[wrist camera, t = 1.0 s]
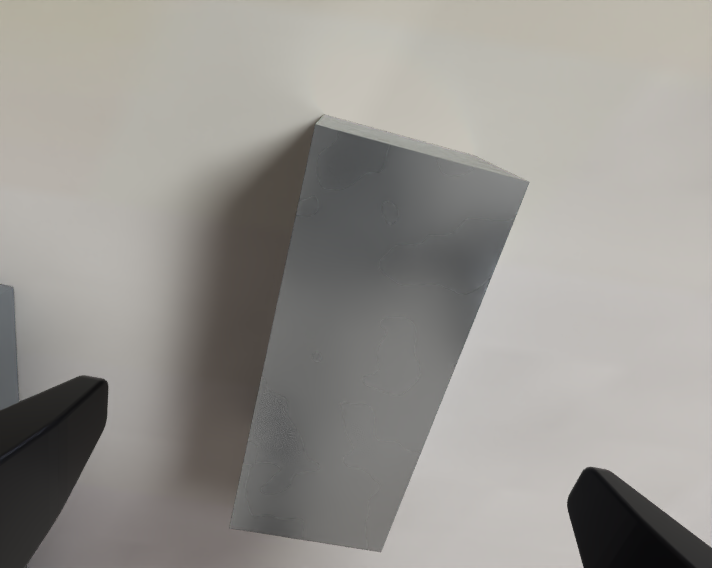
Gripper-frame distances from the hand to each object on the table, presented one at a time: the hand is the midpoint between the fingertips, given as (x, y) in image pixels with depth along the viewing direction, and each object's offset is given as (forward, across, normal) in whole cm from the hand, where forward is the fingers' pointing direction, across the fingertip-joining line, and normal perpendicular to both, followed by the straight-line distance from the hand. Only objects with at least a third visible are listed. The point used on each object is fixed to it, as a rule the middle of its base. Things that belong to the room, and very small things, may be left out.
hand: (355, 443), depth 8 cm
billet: (+6, 0, 0) cm, 6 cm away
